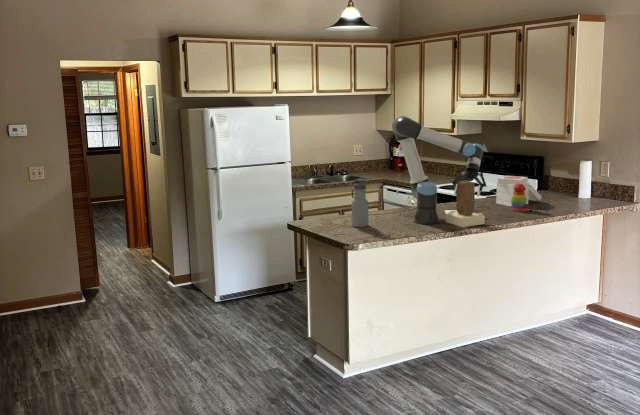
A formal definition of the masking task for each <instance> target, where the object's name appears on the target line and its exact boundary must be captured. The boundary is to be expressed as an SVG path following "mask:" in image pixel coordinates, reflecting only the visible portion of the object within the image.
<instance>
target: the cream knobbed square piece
mask: <svg viewBox="0 0 640 415" xmlns="http://www.w3.org/2000/svg"><path fill="white" fill-rule="evenodd" d="M485 217H486V216H485V215H483V213H480V212H479V213H475V212H473V214H472V215H469V216H465V215H461V214H459V213H457V212H456V213H452V212H448V214H446V213H445V223H447V224H452V225H454V226H458V227H461V228H465V227H472V226H473V227H474V226H479V225H485Z"/></svg>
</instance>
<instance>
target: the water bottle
mask: <svg viewBox="0 0 640 415" xmlns="http://www.w3.org/2000/svg"><path fill="white" fill-rule="evenodd" d="M364 182H365V179H364V178H355V179H354V180H353V183H352V186H353V189H351V198H353V200H352V201H351V226H352V227H354V228H366V226H367V227H368V226H369V200H367V198H366V197H367V196H366V190H367V184H366V183H364Z"/></svg>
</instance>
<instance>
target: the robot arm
mask: <svg viewBox="0 0 640 415" xmlns="http://www.w3.org/2000/svg"><path fill="white" fill-rule="evenodd" d="M391 129H392V131H393V133H394V135H395V138H396V141H397V142H398V143H399V144H400V146H401V150H402V152H403V158H404V160H405V164H406V165H407V169H408V173H409V175H410V181H409V184H410V185H409V186H410V188H411V190H410V191H411V195H412V197H413V198H414V199H416V210H415V214H414V216H413V222H414V223H416V224H418V225H419V224H420V225H435V224H438V223H440V217H439V214H438V211H437V209H438V208H437V206H438V205H437V203H438V202H437V201H438V200H437V198H438V193H437V192H438V186H437V184H436V183H434V182H431V181H430V179H429V177H428V175H425V171H424V169H423V165H422V162H421V159H420V155H419V152H418V148H417V145H416V142H415V140H422V141H424V142H428V143H430V144H433V145H436V146H439V147H441V148H445V149H447V150H450V151H453V152H456V153H458V154H461V155H463V156H465V157H468V160H467V163H466V168H465V171H463V170H460V171H459V173H458V174H457V175H456V176H455V177H454V179H453V180H452V181H451V183H452V186H453V190H454V192H453V193H454V195H455V196H456V191H457V185H458V183H459V182H460V181H468V180H475V181H476V183H477V184H478V189H477V193H476V194H477V197H480V195H481V192H483V189H484V188H486V187H487V182H486V181H485V177H484V173H483V171H481V172H479V170H480V166H481V162H482V157H483V156H484V155H483V154H484V146H483V144H481V143H471V142H469V141H468V142H467V141H465V140H463V139H460V138H457V137H454V136H451V135H448V134H445V133H443V132H439V131H436V130H434V129H432V128H428V127H426V126H423V124H422V123H419V122H418V121H415V120H413V119H411V117H408V116H405V115H404V116H403V115H400V116H398V117H396V118H394V120H393V121H392V124H391ZM478 176H479V177H480V179H481V180H480V179H479V177H478ZM481 181H482V182H481Z"/></svg>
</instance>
